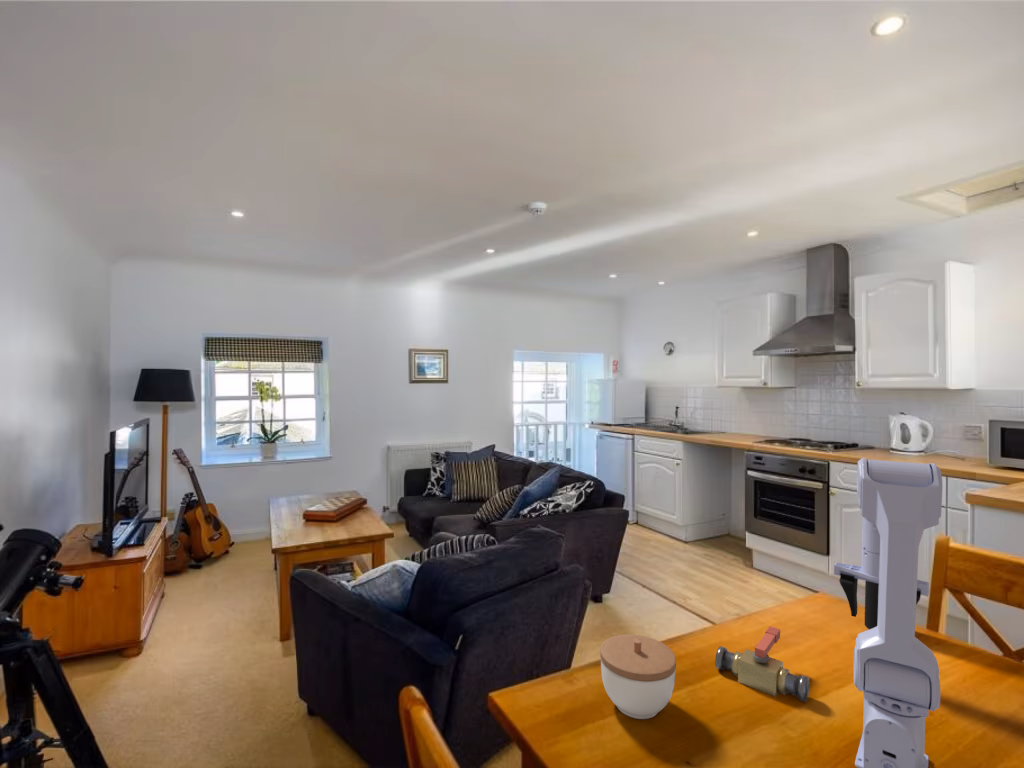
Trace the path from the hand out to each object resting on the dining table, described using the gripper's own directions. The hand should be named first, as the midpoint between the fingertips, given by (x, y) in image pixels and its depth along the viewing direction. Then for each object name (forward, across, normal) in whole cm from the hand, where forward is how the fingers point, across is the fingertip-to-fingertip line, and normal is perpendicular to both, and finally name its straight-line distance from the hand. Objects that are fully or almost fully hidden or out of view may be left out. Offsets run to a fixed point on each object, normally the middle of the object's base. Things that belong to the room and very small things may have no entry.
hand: (878, 621), depth 96 cm
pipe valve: (+10, +16, +19) cm, 26 cm away
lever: (+6, +16, +15) cm, 22 cm away
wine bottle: (+10, +1, -23) cm, 25 cm away
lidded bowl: (+10, +29, +40) cm, 50 cm away
